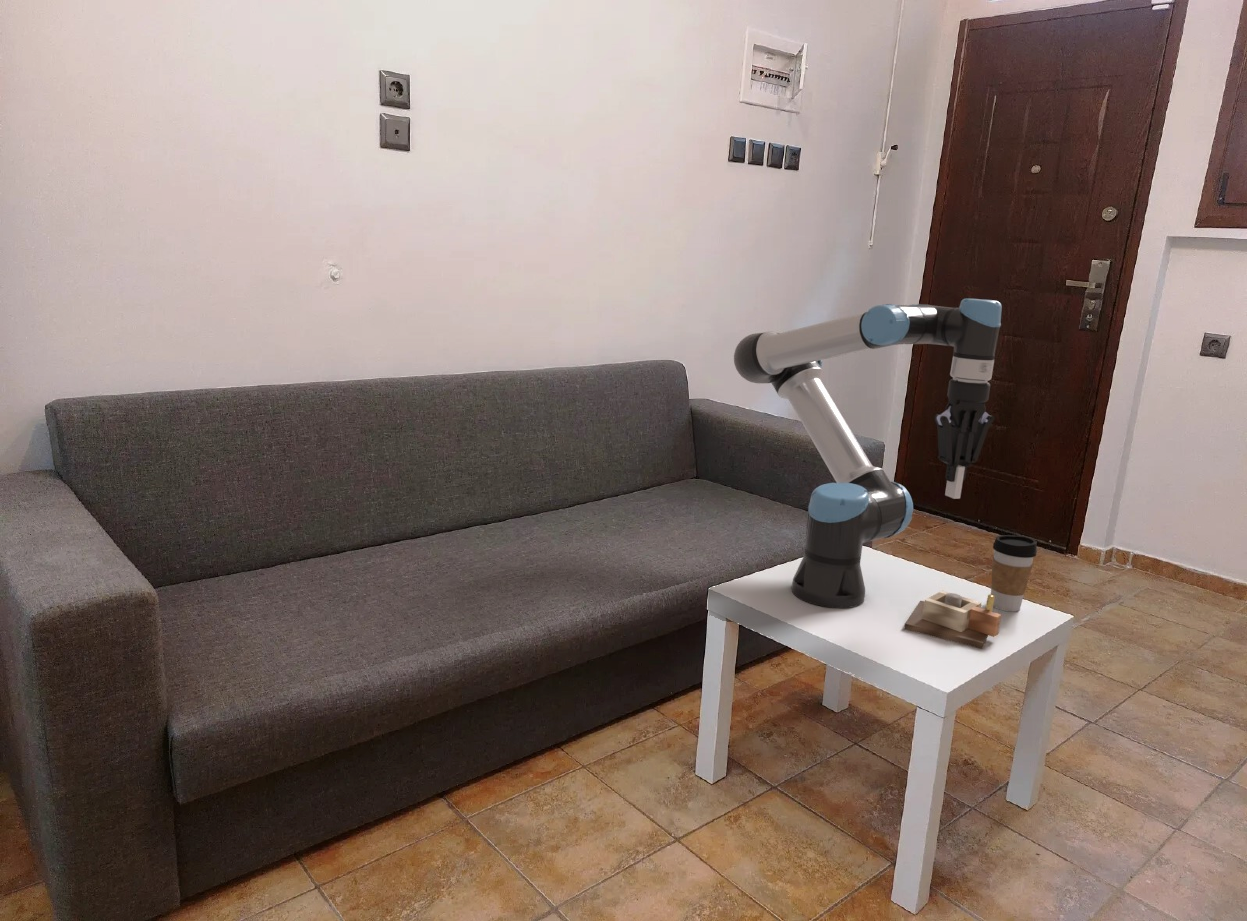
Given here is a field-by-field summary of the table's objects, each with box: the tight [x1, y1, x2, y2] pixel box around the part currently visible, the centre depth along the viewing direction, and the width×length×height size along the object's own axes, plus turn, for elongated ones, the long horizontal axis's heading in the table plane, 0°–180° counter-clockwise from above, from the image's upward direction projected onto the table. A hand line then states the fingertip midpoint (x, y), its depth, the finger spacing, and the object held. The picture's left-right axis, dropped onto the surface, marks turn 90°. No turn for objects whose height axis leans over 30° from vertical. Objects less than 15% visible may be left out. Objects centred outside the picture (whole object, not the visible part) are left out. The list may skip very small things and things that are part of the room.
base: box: [903, 592, 989, 650], centre depth 170 cm, size 14×14×6 cm
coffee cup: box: [990, 534, 1038, 612], centre depth 181 cm, size 8×8×15 cm
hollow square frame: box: [922, 590, 1002, 638], centre depth 168 cm, size 13×8×4 cm, turn 46°
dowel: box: [985, 594, 995, 612], centre depth 167 cm, size 1×1×7 cm
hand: (952, 496), depth 173 cm, fingers closed
